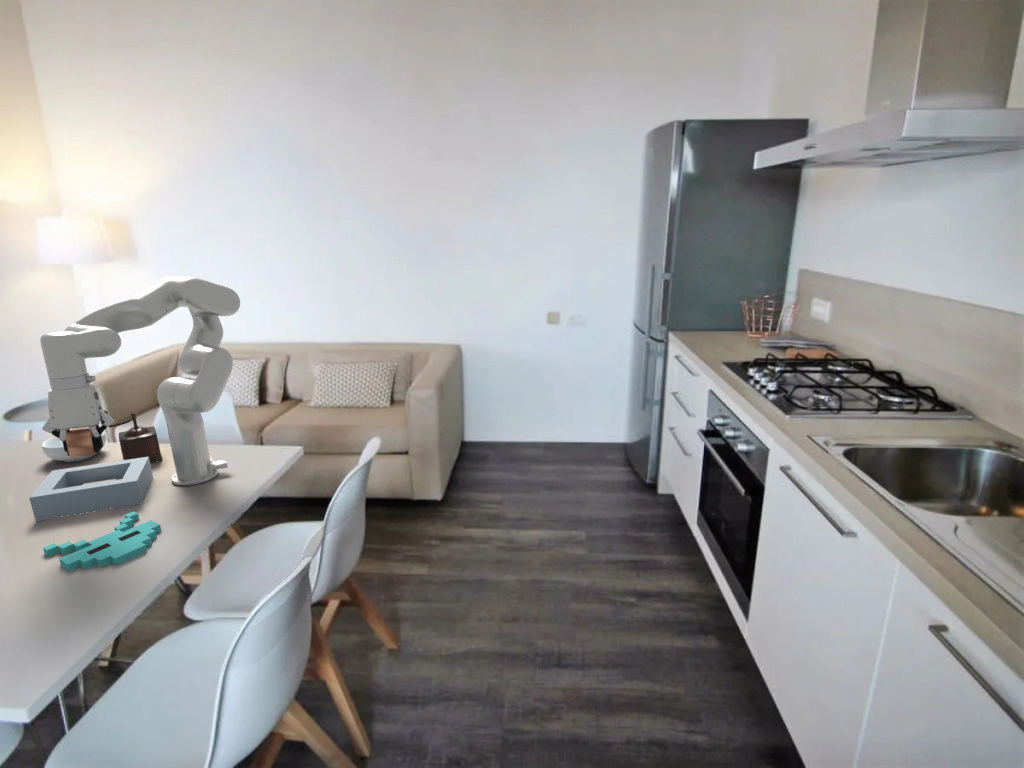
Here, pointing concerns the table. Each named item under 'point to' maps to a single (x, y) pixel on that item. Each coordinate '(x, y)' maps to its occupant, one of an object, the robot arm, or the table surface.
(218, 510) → the table surface
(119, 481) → the slot box
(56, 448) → the cereal bowl
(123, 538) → the alien figure
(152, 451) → the brown manual coffee grinder
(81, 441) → the terracotta cube
